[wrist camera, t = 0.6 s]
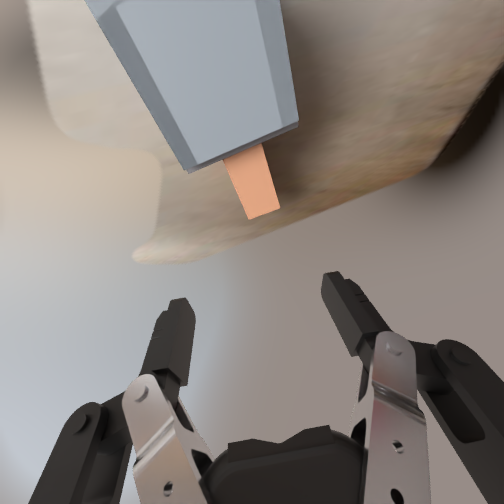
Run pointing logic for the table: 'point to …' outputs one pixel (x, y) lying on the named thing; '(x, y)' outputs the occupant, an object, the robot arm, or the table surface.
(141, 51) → the block
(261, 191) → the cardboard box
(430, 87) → the table surface
